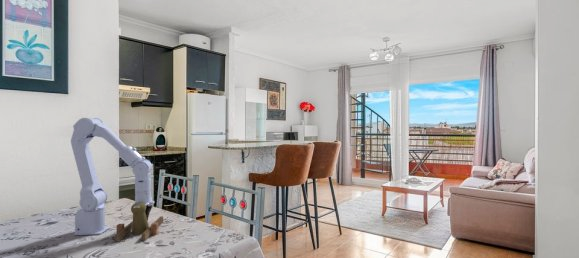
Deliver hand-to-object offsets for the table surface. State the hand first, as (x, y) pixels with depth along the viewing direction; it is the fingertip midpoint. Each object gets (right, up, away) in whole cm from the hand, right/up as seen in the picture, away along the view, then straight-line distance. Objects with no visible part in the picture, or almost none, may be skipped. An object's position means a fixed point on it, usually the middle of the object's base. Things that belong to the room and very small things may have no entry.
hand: (143, 224), depth 124 cm
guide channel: (0, -2, -2) cm, 3 cm away
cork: (0, -1, -3) cm, 3 cm away
